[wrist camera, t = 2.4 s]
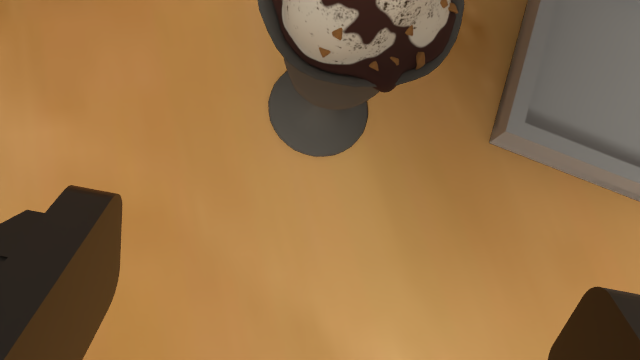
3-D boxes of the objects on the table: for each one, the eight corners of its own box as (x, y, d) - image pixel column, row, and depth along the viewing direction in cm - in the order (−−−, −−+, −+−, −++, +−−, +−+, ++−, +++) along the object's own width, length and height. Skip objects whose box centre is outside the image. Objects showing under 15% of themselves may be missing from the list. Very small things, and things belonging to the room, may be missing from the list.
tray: (489, 142, 27) (505, 131, 26) (542, -51, 31) (560, -73, 29) (711, 229, 28) (742, 223, 26) (739, 29, 31) (768, 13, 30)
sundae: (257, 181, 25) (276, 1, 11) (245, 50, 27) (249, -261, 12) (392, 171, 26) (575, -6, 12) (374, 46, 28) (516, -246, 13)
